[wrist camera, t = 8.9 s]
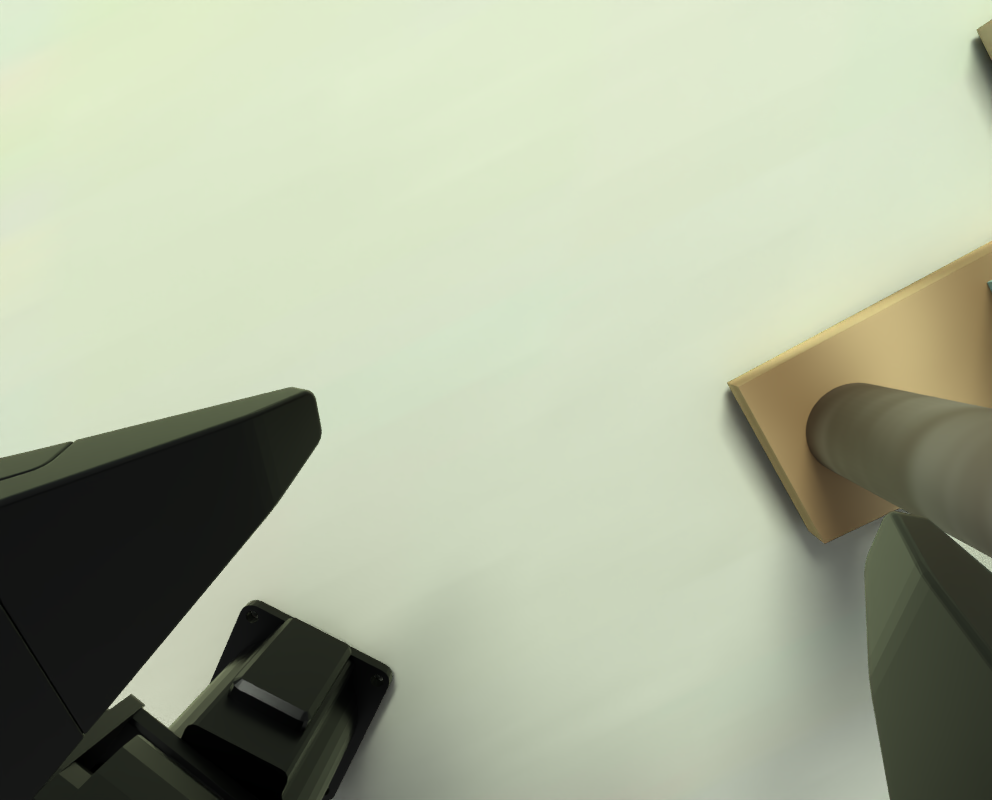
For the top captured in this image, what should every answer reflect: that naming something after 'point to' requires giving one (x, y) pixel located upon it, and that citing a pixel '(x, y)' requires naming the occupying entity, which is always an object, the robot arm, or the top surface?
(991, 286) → the cube
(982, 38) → the beige rectangular block
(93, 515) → the robot arm
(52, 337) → the top surface
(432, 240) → the top surface
